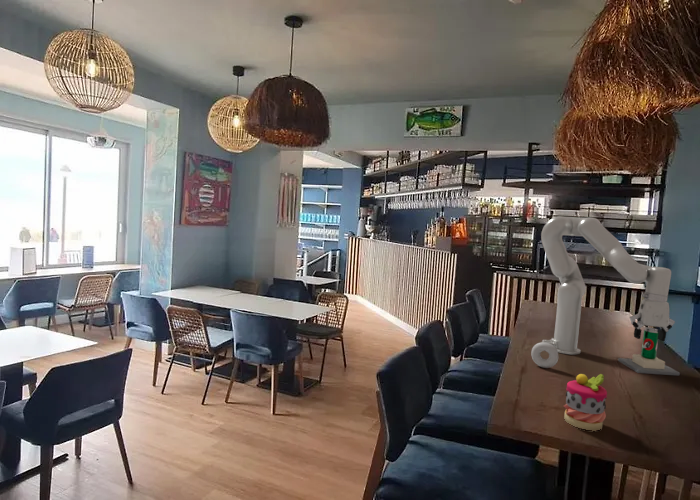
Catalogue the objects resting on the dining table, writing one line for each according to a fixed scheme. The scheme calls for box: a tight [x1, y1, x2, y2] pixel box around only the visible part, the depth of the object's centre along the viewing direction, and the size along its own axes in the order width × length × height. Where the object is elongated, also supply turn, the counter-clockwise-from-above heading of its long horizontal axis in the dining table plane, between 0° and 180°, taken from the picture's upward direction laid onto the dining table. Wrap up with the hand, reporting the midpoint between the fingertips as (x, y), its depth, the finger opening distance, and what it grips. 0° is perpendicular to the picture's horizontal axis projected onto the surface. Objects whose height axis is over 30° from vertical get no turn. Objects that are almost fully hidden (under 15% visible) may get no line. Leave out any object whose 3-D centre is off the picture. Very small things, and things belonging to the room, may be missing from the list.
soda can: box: [640, 326, 659, 359], centre depth 183 cm, size 5×5×12 cm
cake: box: [563, 373, 608, 432], centre depth 130 cm, size 10×11×15 cm
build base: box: [617, 353, 681, 376], centre depth 184 cm, size 16×14×4 cm
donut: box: [530, 341, 560, 369], centre depth 177 cm, size 10×4×10 cm, turn 55°
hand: (649, 339), depth 183 cm, fingers open, 9 cm apart
